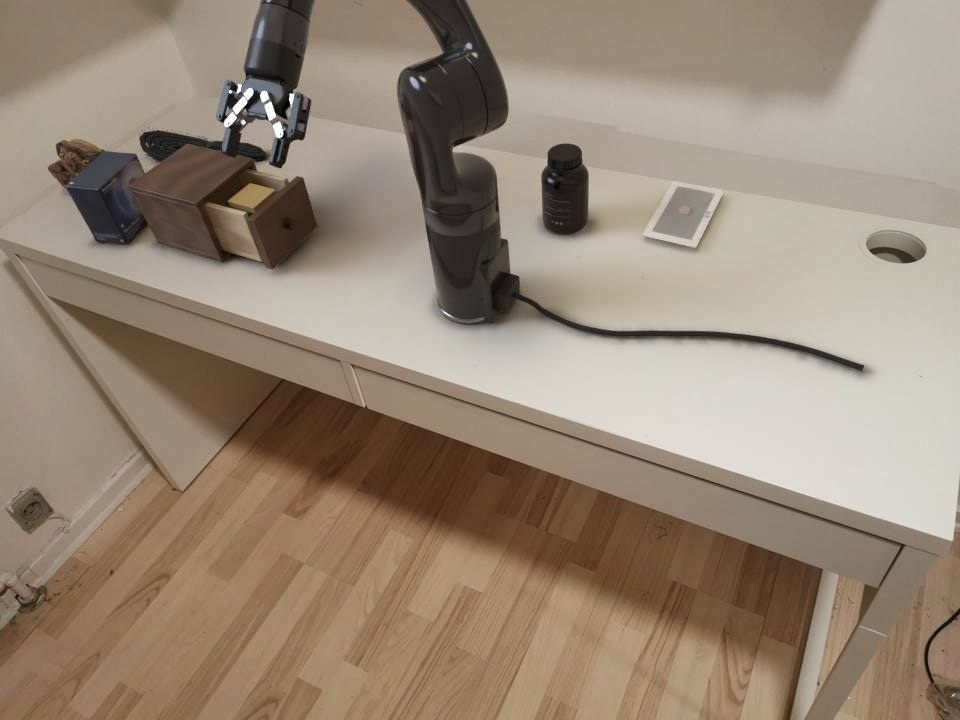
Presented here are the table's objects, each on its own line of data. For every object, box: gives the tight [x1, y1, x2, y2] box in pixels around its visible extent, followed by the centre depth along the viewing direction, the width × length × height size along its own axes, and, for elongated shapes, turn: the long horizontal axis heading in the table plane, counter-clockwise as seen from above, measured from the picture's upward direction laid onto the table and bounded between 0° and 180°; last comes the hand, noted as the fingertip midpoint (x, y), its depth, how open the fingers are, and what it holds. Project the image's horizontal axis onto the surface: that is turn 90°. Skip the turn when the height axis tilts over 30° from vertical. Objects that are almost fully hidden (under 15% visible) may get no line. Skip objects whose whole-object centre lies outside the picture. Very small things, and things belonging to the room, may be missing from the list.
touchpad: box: [641, 180, 725, 249], centre depth 103 cm, size 8×15×2 cm, turn 152°
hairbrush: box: [138, 126, 268, 162], centre depth 128 cm, size 8×4×25 cm
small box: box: [64, 150, 148, 245], centre depth 112 cm, size 11×6×10 cm, turn 166°
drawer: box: [202, 169, 319, 271], centre depth 105 cm, size 14×11×9 cm
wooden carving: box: [47, 138, 105, 189], centre depth 119 cm, size 16×5×10 cm, turn 70°
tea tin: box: [228, 183, 277, 217], centre depth 104 cm, size 5×5×7 cm
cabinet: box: [128, 144, 258, 263], centre depth 109 cm, size 14×13×11 cm
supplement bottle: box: [540, 142, 590, 236], centre depth 102 cm, size 7×7×12 cm
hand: (251, 161), depth 100 cm, fingers open, 8 cm apart
